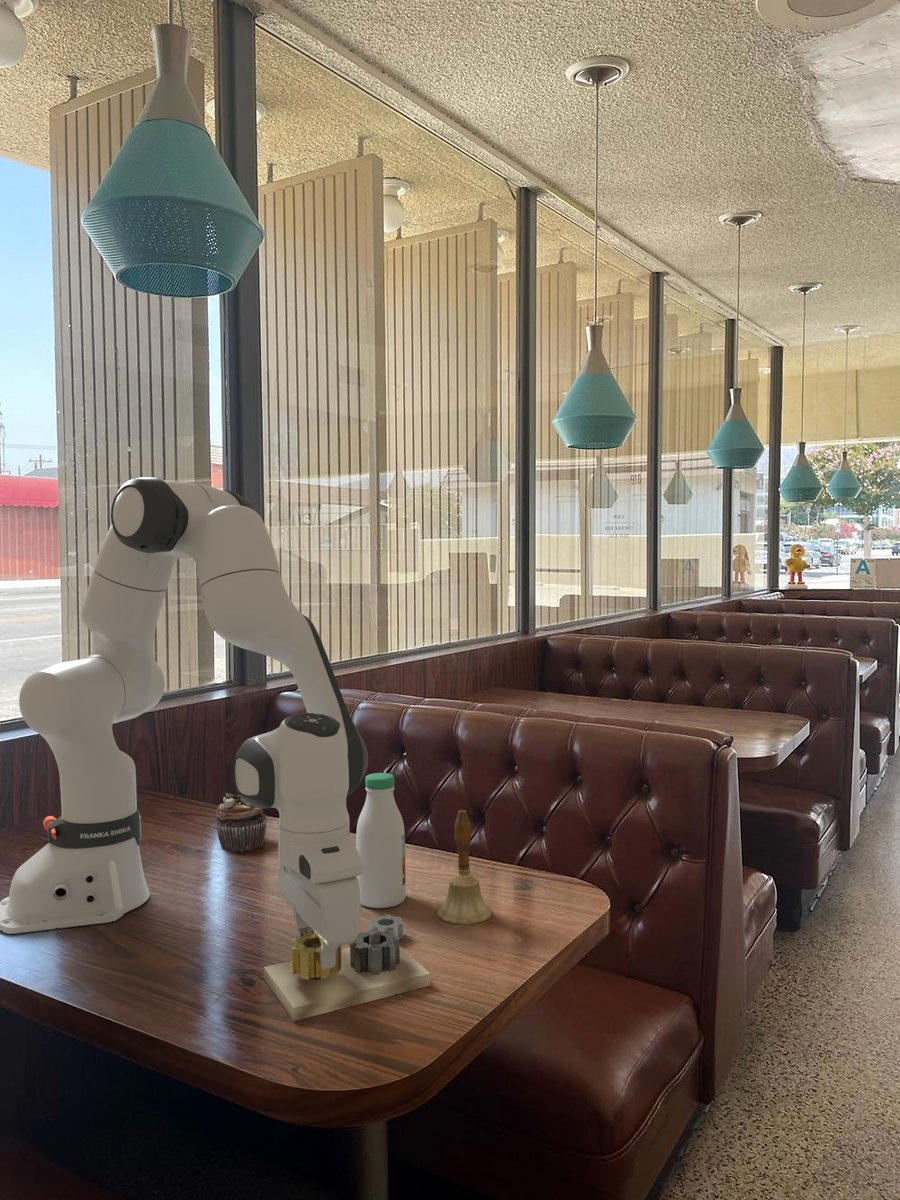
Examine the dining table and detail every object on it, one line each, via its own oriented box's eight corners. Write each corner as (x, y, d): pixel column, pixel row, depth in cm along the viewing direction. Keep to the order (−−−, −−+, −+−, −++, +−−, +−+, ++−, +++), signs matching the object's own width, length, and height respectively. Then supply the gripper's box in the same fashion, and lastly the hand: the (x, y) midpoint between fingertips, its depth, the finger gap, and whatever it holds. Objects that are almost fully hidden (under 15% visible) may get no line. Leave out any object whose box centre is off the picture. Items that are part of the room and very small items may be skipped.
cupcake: (224, 856, 164) (223, 802, 164) (210, 842, 173) (208, 790, 172) (274, 847, 169) (274, 794, 168) (258, 833, 177) (257, 783, 177)
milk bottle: (398, 911, 138) (397, 782, 137) (350, 907, 140) (348, 780, 139) (410, 892, 146) (409, 770, 145) (365, 889, 147) (363, 768, 146)
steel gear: (375, 979, 113) (375, 954, 113) (340, 965, 117) (339, 941, 117) (409, 961, 118) (409, 937, 118) (374, 948, 122) (374, 925, 122)
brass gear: (300, 983, 109) (299, 958, 109) (283, 962, 115) (283, 938, 115) (349, 972, 112) (349, 947, 112) (331, 952, 118) (330, 928, 118)
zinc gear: (381, 947, 126) (380, 932, 125) (361, 936, 130) (361, 921, 129) (410, 938, 129) (410, 923, 129) (390, 926, 133) (390, 912, 132)
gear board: (293, 1021, 106) (292, 974, 106) (264, 979, 117) (263, 936, 116) (430, 985, 115) (429, 942, 114) (391, 949, 125) (390, 909, 125)
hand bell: (474, 929, 132) (473, 821, 131) (426, 917, 136) (425, 813, 135) (501, 909, 139) (501, 807, 138) (455, 899, 143) (455, 800, 142)
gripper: (265, 827, 120) (267, 928, 121) (317, 875, 102) (319, 993, 103) (310, 820, 123) (311, 919, 124) (369, 865, 105) (370, 981, 106)
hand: (315, 953), depth 114 cm, fingers open, 6 cm apart
